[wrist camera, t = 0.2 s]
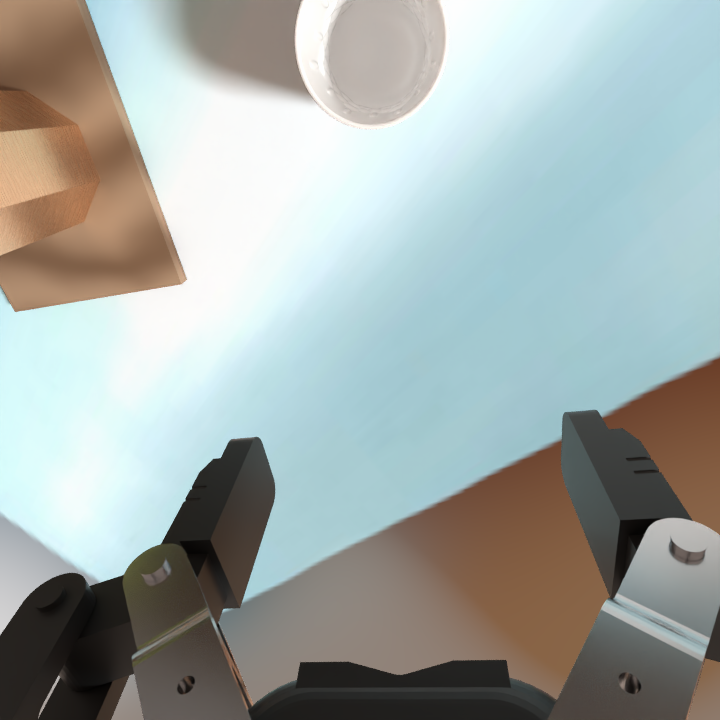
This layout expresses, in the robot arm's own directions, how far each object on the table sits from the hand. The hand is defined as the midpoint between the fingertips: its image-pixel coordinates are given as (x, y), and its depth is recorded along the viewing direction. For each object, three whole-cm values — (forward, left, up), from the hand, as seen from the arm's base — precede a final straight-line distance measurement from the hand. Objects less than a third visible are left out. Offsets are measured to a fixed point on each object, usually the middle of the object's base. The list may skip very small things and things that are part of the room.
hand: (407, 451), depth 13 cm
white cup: (-11, 0, -29) cm, 31 cm away
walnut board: (-9, -27, -29) cm, 41 cm away
